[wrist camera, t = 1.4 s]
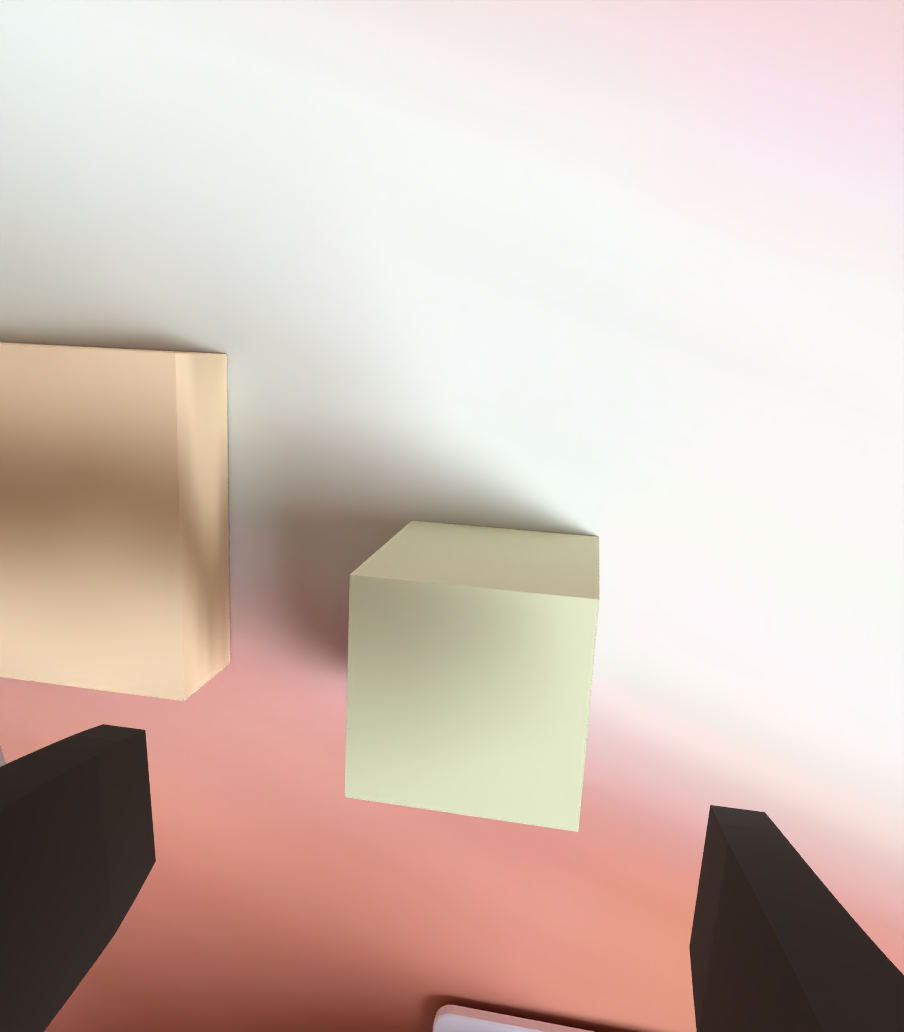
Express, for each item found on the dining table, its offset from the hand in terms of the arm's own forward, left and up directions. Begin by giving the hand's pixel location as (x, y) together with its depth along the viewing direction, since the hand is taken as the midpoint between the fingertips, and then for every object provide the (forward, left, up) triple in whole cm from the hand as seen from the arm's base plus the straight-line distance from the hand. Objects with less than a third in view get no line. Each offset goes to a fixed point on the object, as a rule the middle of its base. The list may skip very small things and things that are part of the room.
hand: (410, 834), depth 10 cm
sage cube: (0, 0, -10) cm, 10 cm away
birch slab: (+2, +11, -10) cm, 15 cm away
